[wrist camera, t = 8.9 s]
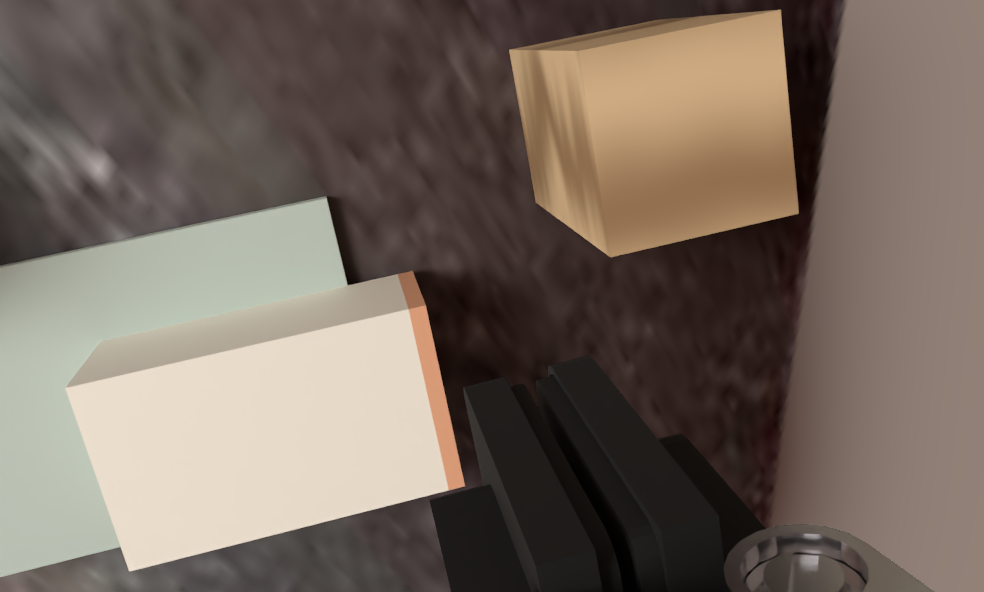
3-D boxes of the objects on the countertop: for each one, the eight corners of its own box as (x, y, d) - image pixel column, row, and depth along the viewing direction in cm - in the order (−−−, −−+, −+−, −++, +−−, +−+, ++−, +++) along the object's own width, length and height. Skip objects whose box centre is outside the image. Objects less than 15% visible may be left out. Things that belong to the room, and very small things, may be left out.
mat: (-110, 288, 33) (-117, 292, 33) (326, 196, 35) (326, 198, 34) (2, 570, 37) (-3, 577, 36) (393, 472, 38) (394, 478, 38)
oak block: (509, 49, 35) (578, 50, 25) (658, 19, 35) (780, 9, 26) (535, 202, 36) (610, 257, 27) (677, 171, 37) (799, 213, 28)
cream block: (412, 270, 36) (101, 340, 34) (425, 305, 31) (65, 388, 30) (447, 430, 38) (154, 503, 36) (464, 486, 33) (129, 571, 32)
